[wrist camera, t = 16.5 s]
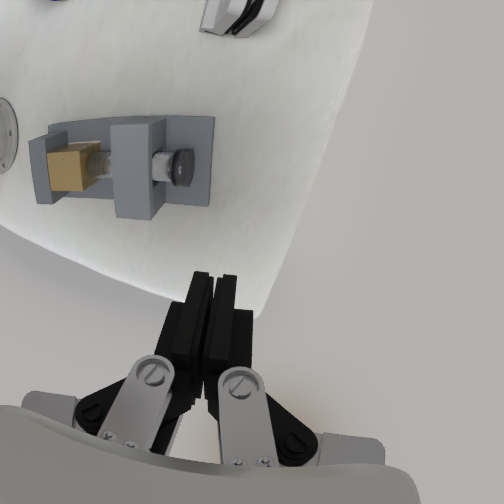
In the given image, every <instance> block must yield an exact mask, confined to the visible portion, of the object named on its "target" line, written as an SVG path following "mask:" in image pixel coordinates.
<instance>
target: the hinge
mask: <svg viewBox="0 0 504 504" xmlns="http://www.w3.org/2000/svg"><path fill="white" fill-rule="evenodd" d="M278 2H279V0H207V1H206V5H205V8H204V12H203V16H202V20H201V24H200V28H199V32H204V31H205V30H206V31H209V32H212V33H216V34H219V35H223V34H224V33H228V32H229V31H230V30H231V29H232V28H233V31H232V34H234V35H235V38H247V37H248V36H249V35H251V34H252V33H253V32H255V31H256V30H257V29H259V28H260V27H262V26H263V25H264V24H266V23H267V22H269V21H270V20H271V18H272V17H273V14H274V12H275V9H276V7H277V5H278Z"/></svg>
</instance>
